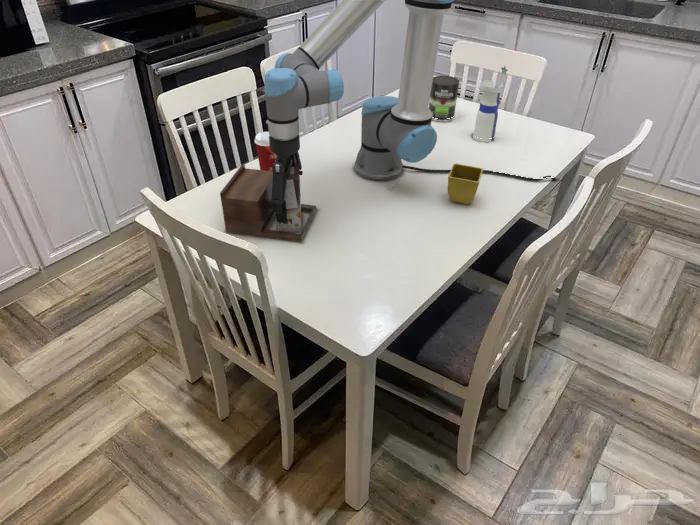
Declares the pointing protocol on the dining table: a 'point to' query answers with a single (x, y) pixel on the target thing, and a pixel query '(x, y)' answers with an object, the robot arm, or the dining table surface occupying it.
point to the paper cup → (265, 152)
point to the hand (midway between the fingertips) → (288, 208)
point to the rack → (255, 206)
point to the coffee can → (443, 98)
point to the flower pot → (463, 183)
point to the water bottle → (488, 110)
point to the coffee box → (292, 202)
